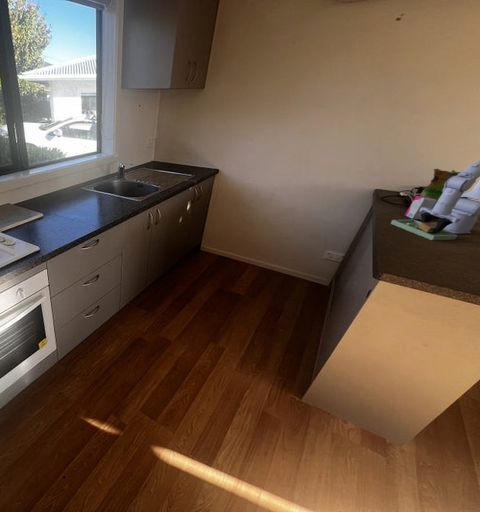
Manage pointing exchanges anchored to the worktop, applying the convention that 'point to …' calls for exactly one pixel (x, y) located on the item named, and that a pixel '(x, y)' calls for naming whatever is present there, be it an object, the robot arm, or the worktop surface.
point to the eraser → (428, 227)
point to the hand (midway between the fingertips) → (428, 230)
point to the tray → (412, 228)
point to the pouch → (437, 184)
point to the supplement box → (419, 207)
